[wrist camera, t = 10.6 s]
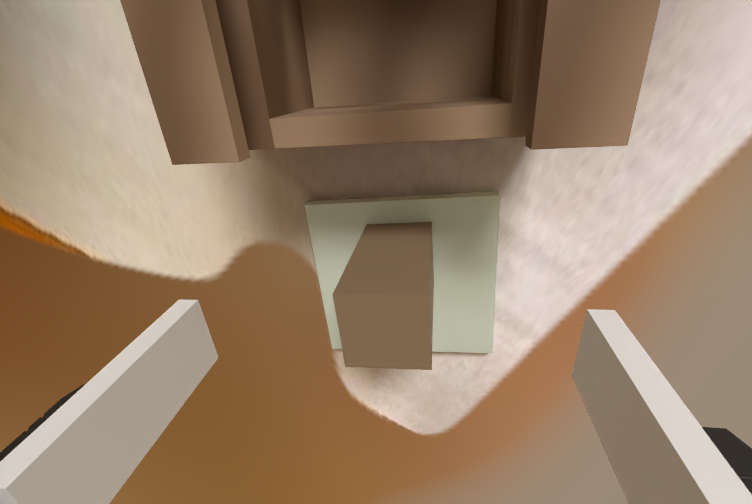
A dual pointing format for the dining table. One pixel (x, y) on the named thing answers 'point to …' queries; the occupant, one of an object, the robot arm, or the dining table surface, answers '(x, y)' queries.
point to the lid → (407, 275)
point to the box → (389, 71)
